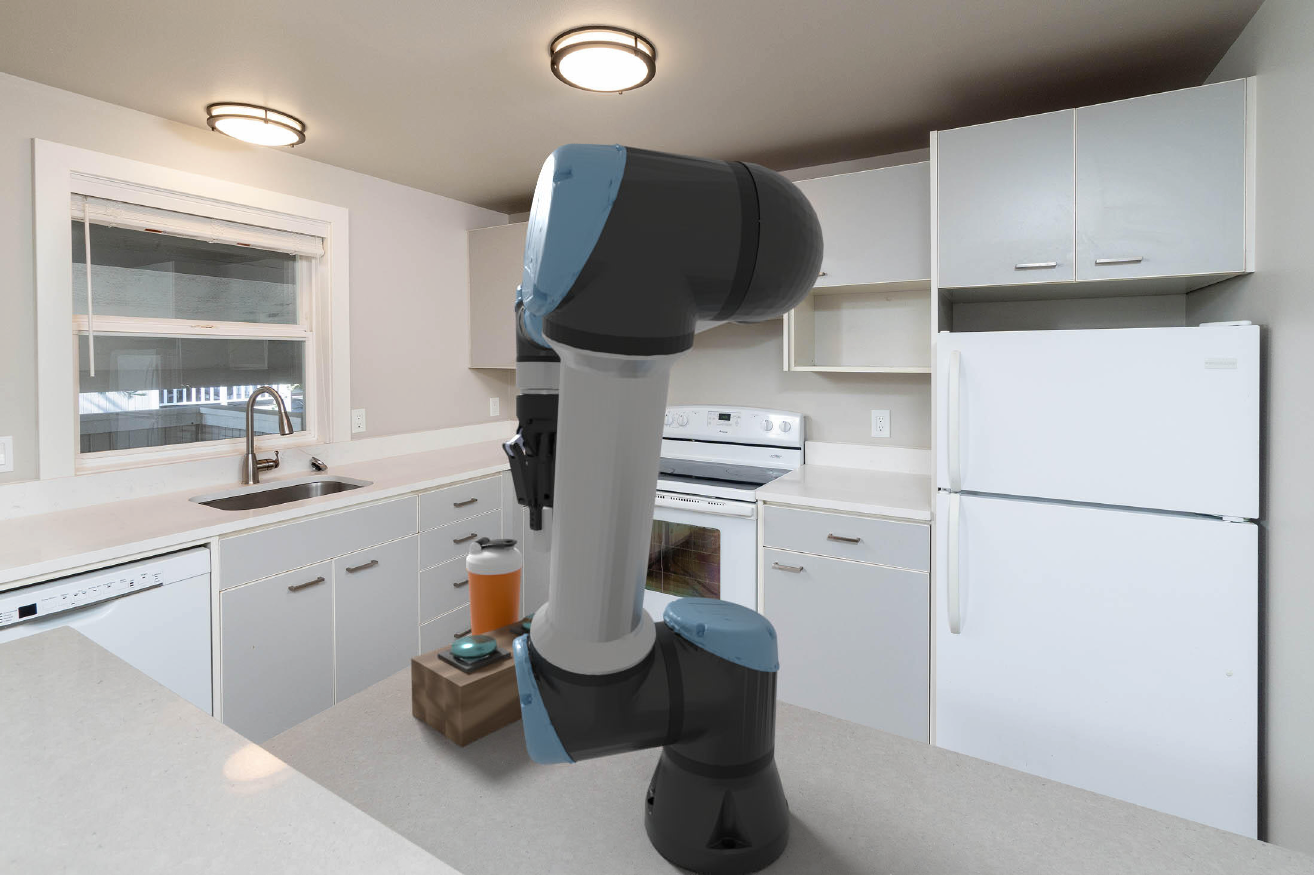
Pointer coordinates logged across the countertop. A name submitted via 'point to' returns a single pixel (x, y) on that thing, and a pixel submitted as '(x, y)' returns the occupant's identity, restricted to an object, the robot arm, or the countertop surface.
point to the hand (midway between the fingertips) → (542, 550)
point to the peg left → (473, 647)
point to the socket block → (468, 689)
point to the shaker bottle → (493, 583)
